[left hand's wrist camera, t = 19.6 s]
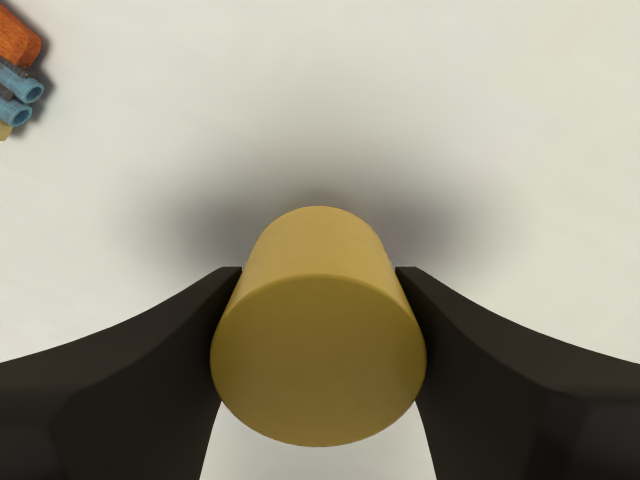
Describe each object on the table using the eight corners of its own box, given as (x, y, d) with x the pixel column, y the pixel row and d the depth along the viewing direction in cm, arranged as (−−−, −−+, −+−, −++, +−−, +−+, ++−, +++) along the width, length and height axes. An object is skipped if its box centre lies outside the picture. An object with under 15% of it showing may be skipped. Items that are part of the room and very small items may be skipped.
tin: (401, 307, 13) (447, 422, 8) (279, 341, 13) (259, 467, 9) (365, 185, 11) (398, 243, 6) (228, 230, 12) (168, 313, 7)
